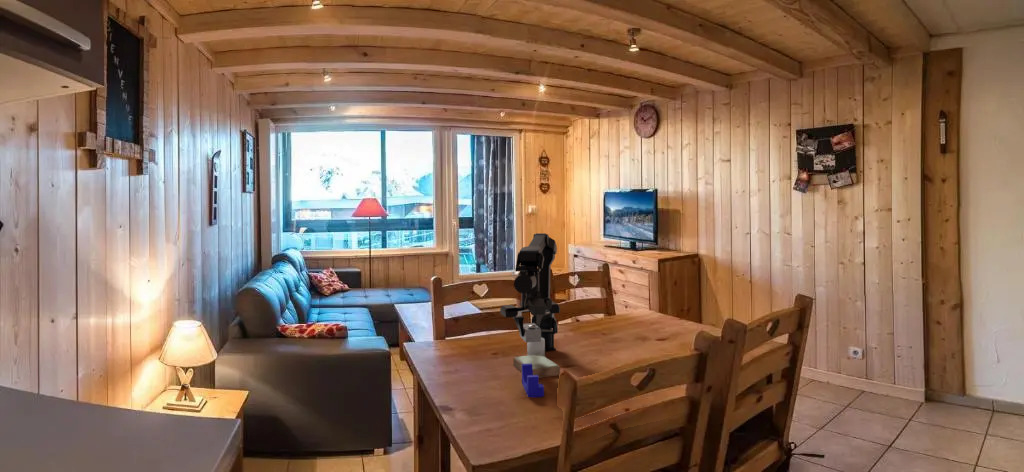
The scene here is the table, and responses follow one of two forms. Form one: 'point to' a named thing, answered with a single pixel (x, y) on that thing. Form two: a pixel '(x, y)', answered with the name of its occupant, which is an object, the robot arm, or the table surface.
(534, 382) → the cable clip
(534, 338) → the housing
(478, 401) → the table surface
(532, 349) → the light grey rounded cylinder
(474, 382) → the table surface
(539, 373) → the stand
